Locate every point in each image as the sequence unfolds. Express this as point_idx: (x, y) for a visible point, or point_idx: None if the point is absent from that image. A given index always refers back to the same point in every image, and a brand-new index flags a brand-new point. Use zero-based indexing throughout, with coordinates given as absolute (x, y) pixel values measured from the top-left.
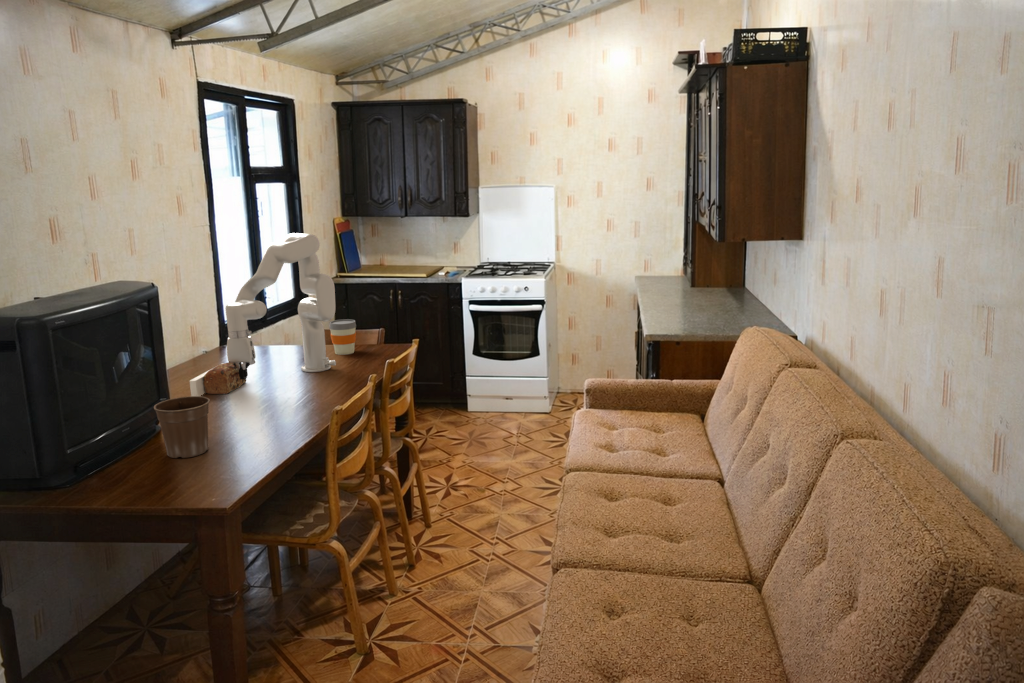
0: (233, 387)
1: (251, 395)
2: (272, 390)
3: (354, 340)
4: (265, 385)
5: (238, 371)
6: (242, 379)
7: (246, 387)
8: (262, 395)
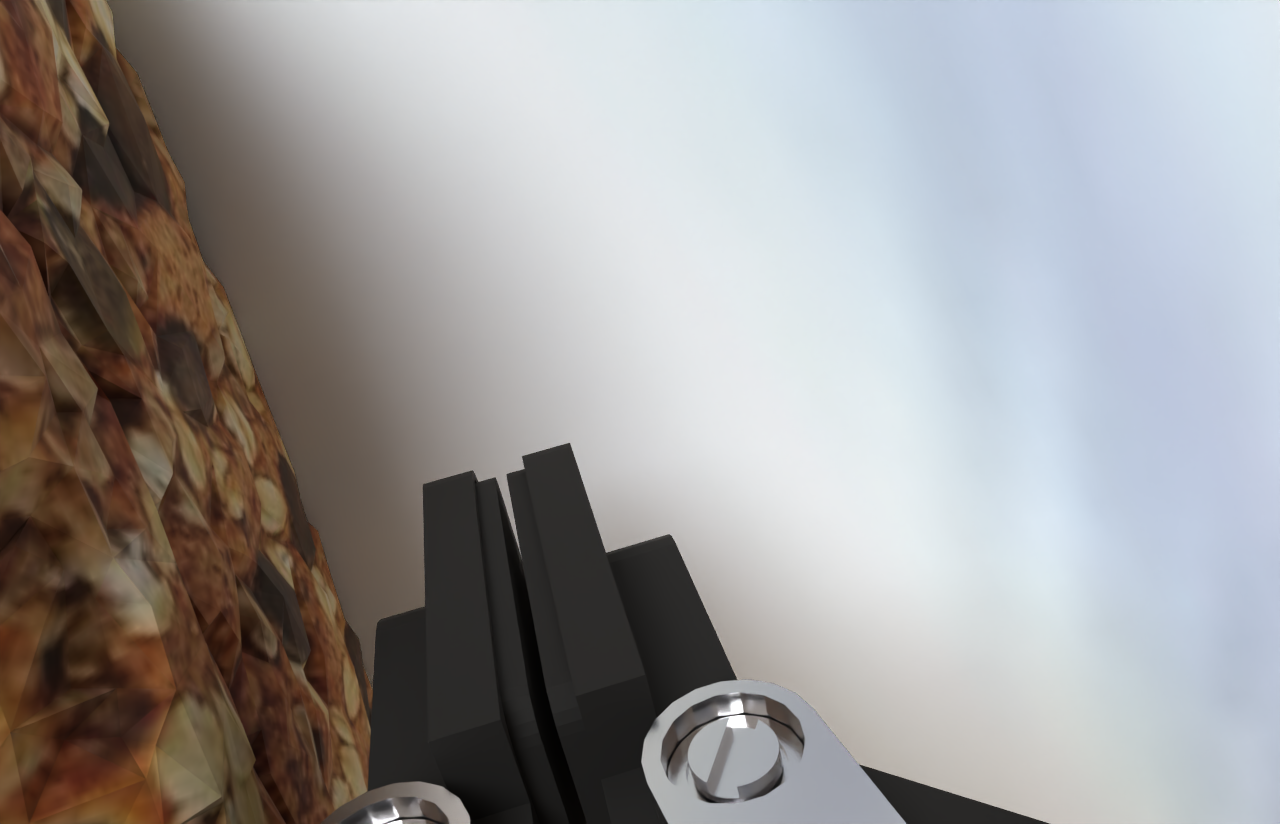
0: None
1: (974, 785)
2: (1255, 390)
3: None
4: (914, 8)
5: (229, 704)
6: (106, 131)
7: (486, 334)
8: (1174, 719)
